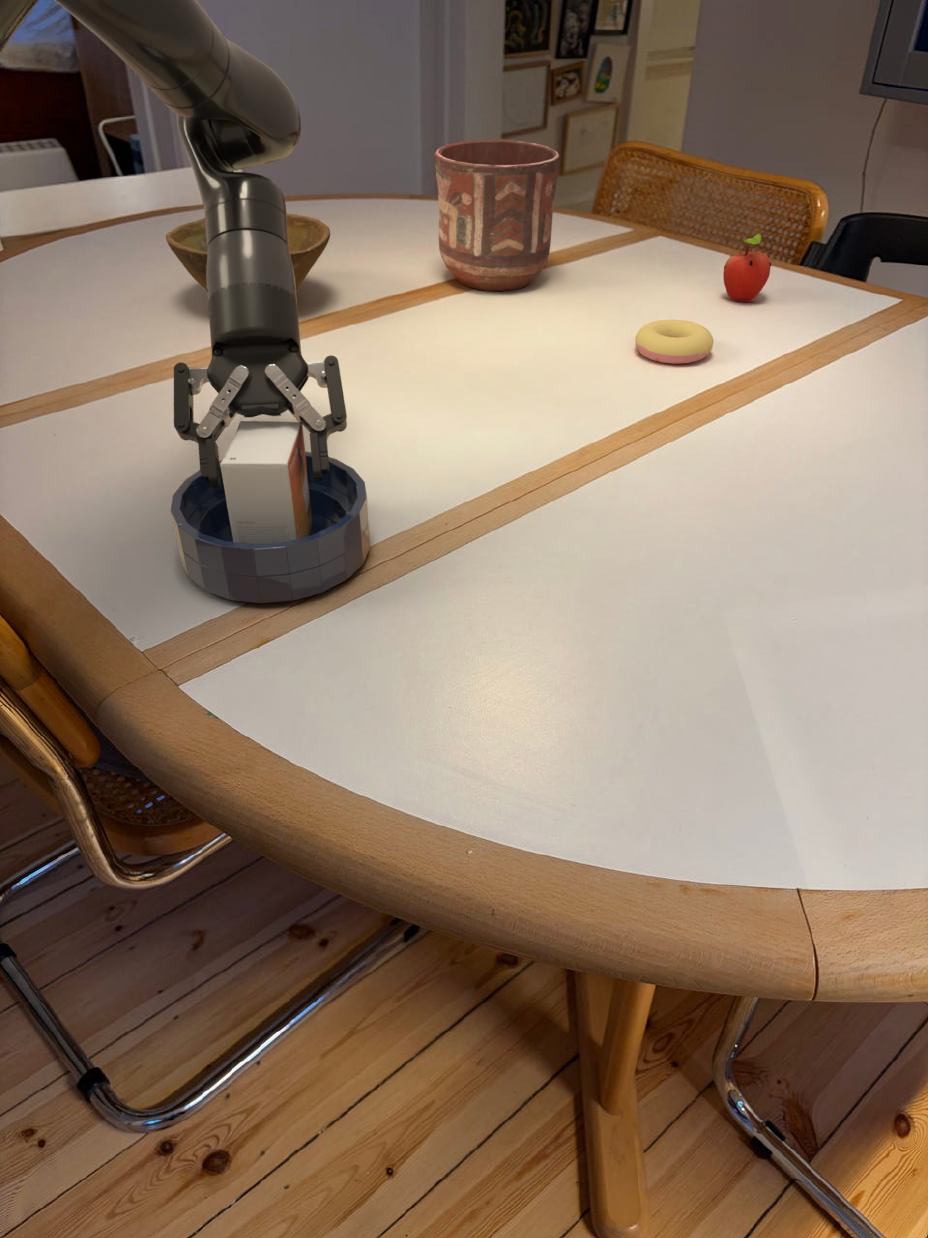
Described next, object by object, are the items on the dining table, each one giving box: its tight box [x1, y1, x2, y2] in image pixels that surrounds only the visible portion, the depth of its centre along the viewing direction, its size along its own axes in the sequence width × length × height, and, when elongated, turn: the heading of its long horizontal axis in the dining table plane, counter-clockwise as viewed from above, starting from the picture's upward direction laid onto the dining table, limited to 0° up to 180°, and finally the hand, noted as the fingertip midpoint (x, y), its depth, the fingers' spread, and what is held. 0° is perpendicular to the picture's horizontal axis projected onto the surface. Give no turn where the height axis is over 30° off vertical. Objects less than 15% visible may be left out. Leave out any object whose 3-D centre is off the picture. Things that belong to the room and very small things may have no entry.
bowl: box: [165, 213, 331, 292], centre depth 132 cm, size 22×23×10 cm
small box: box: [220, 420, 312, 544], centre depth 81 cm, size 8×6×10 cm
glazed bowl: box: [169, 451, 371, 604], centre depth 83 cm, size 17×17×6 cm
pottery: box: [433, 139, 561, 292], centre depth 139 cm, size 18×18×18 cm
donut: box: [634, 319, 714, 365], centre depth 121 cm, size 10×5×9 cm
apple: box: [722, 233, 772, 303], centre depth 135 cm, size 8×7×10 cm
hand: (267, 482), depth 79 cm, fingers open, 8 cm apart
